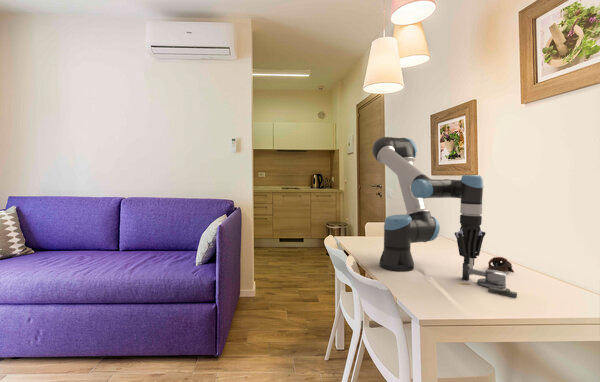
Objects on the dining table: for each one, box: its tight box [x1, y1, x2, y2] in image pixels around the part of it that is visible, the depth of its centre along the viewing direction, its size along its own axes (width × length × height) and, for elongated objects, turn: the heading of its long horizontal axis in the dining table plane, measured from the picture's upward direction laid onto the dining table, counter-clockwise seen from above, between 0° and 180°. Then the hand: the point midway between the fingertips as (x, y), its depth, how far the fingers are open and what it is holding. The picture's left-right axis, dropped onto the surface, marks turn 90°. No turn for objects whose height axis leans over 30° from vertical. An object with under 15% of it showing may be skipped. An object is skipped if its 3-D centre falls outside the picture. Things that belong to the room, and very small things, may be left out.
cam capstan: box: [461, 262, 507, 290], centre depth 120 cm, size 14×9×6 cm, turn 46°
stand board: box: [457, 282, 518, 299], centre depth 119 cm, size 20×19×4 cm
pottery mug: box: [487, 256, 515, 273], centre depth 138 cm, size 12×10×8 cm
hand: (468, 273), depth 127 cm, fingers closed
